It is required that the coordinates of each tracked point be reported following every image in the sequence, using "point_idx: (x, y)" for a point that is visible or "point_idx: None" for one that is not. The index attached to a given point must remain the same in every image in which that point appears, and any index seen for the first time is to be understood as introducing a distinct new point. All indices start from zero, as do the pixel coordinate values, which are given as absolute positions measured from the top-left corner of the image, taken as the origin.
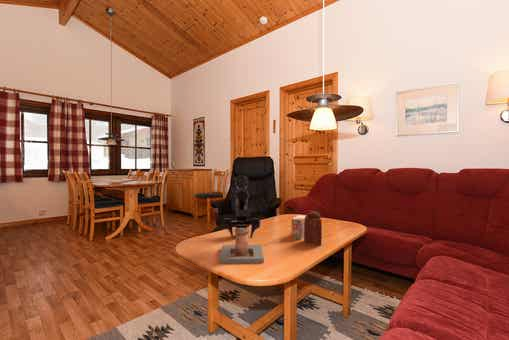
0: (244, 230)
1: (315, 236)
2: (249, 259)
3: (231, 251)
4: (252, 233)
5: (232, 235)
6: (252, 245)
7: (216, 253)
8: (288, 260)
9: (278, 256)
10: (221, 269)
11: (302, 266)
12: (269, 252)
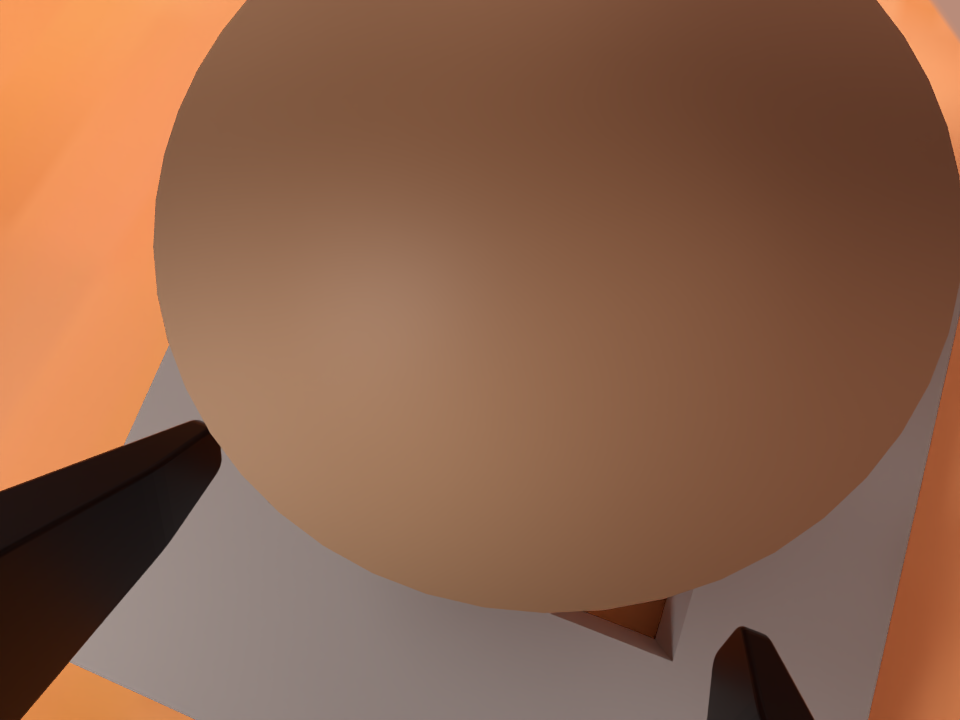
0: (460, 8)
1: None
2: None
3: (644, 640)
4: (59, 471)
5: (773, 691)
6: (191, 674)
7: (926, 703)
8: (15, 59)
9: (41, 213)
10: (926, 55)
11: None
12: (60, 400)
